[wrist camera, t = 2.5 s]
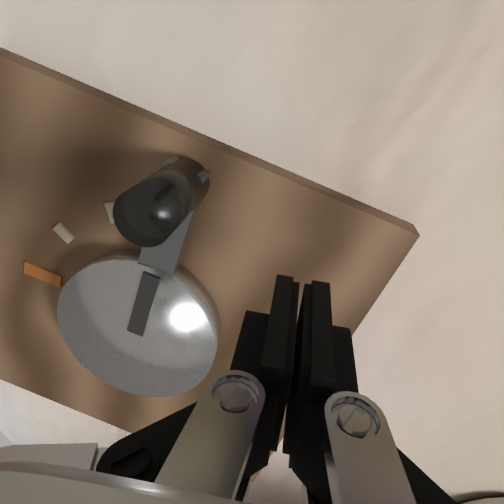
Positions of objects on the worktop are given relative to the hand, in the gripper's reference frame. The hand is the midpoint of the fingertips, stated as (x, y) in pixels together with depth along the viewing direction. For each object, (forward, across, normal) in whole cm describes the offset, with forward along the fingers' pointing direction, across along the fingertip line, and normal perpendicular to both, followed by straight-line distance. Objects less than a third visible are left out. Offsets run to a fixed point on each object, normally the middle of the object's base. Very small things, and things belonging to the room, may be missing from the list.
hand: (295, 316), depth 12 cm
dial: (+8, +8, +6) cm, 13 cm away
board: (+10, +9, +9) cm, 16 cm away
